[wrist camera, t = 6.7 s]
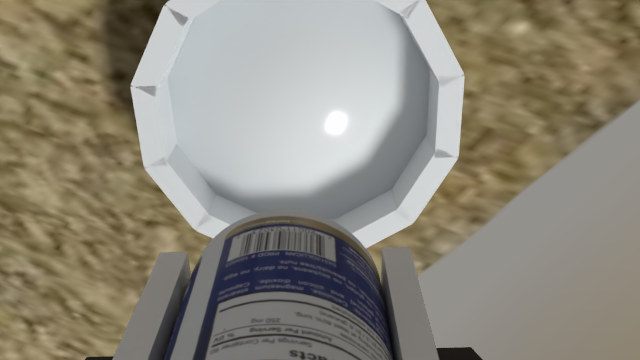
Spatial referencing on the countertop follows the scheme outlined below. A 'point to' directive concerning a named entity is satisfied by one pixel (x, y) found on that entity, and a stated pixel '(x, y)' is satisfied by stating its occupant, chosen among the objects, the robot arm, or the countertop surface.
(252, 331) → the pill bottle
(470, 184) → the countertop surface
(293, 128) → the dish
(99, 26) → the countertop surface
